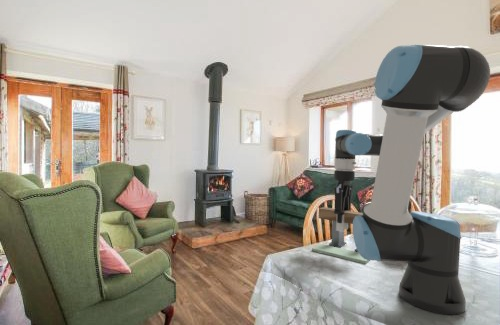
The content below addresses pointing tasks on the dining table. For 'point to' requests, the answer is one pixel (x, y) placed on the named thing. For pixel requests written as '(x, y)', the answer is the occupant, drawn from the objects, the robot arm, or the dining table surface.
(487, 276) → the dining table surface
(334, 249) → the mat
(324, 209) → the rail
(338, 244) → the post far
